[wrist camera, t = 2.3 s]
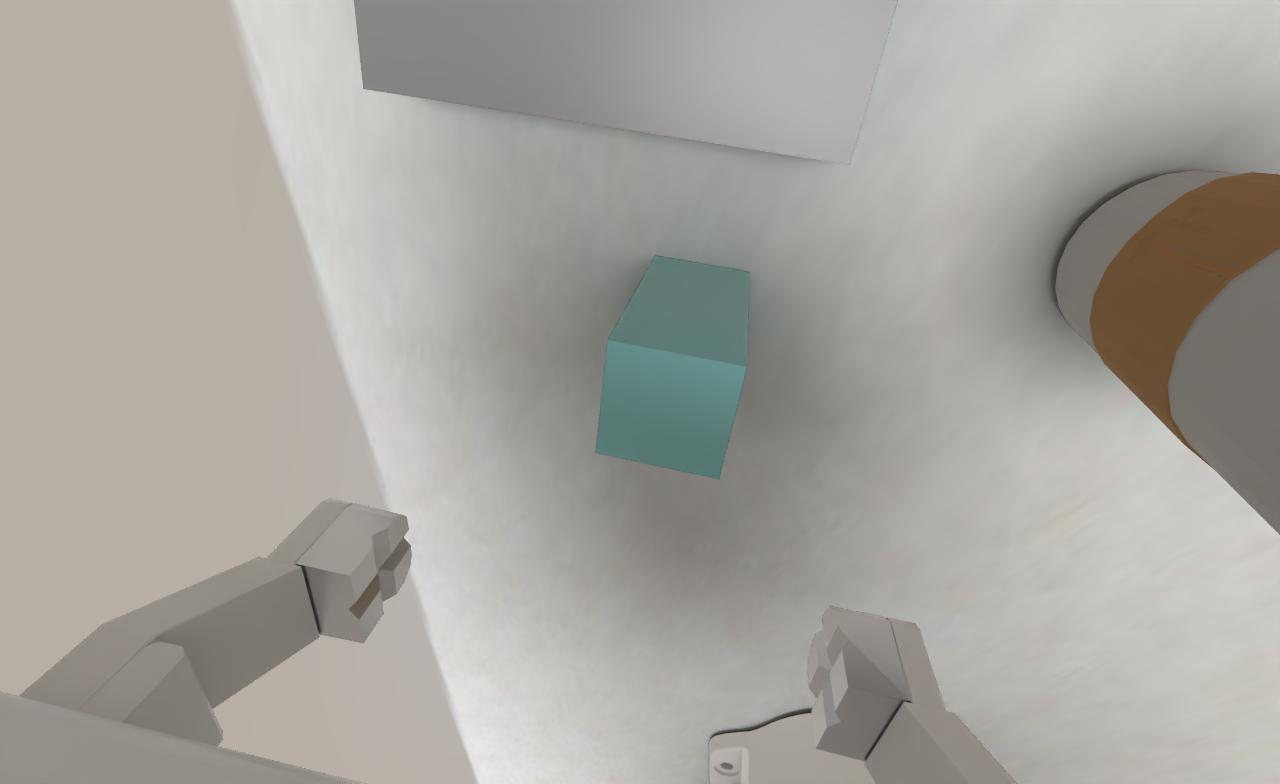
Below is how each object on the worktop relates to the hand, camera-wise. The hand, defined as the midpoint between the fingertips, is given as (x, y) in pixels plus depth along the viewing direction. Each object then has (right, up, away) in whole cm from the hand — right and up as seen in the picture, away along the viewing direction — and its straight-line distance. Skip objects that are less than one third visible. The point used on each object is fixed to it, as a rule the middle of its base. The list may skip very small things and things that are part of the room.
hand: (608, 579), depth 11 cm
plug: (+3, +7, +14) cm, 16 cm away
